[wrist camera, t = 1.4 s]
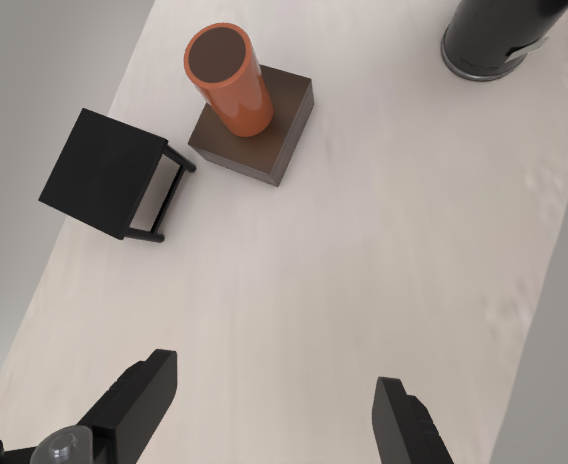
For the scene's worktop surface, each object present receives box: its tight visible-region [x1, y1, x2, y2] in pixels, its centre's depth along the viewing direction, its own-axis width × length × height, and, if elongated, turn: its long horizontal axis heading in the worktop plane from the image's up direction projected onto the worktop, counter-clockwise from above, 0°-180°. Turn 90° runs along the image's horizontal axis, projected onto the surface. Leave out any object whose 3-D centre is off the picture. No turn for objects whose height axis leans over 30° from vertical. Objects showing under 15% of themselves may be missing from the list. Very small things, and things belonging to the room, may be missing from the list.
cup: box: [184, 23, 274, 137], centre depth 29 cm, size 6×6×9 cm
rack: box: [38, 108, 196, 243], centre depth 36 cm, size 12×12×8 cm
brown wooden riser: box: [188, 64, 314, 187], centre depth 36 cm, size 12×11×5 cm
